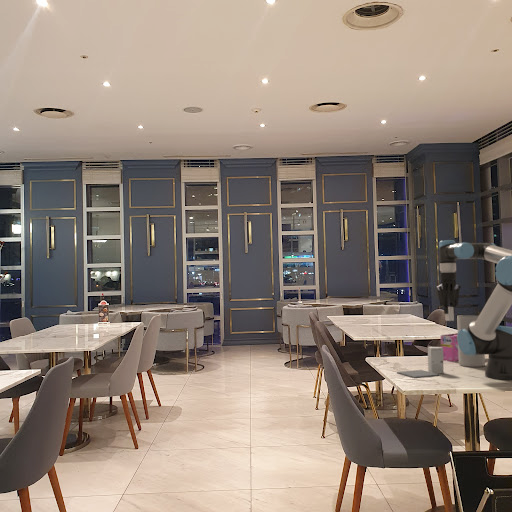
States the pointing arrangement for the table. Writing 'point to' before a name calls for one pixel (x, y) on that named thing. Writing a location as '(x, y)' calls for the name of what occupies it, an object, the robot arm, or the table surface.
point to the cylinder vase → (463, 358)
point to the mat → (417, 373)
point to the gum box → (450, 347)
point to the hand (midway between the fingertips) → (449, 320)
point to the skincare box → (435, 360)
